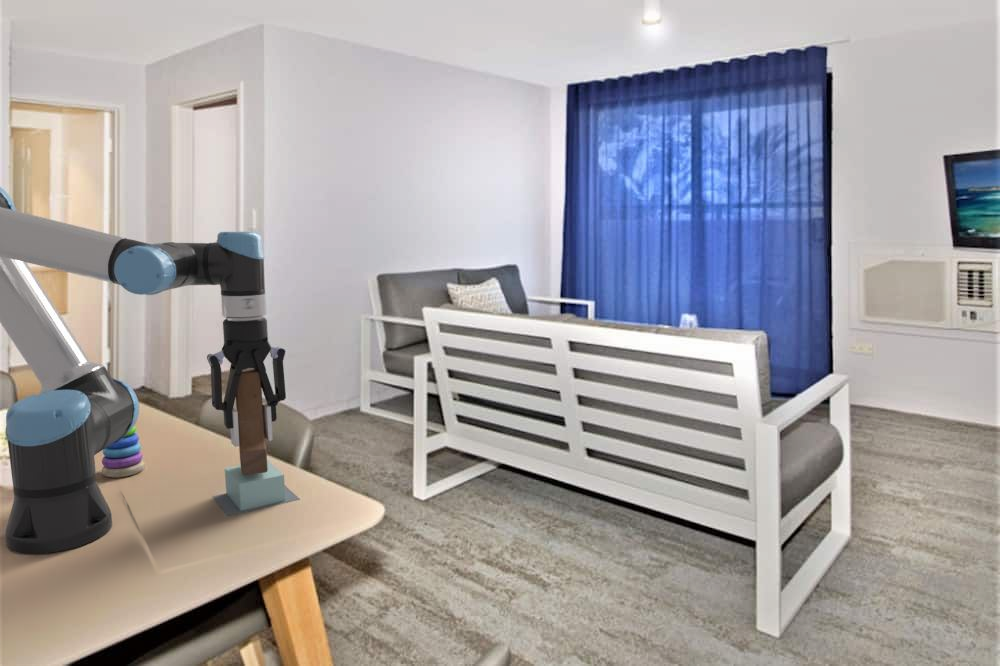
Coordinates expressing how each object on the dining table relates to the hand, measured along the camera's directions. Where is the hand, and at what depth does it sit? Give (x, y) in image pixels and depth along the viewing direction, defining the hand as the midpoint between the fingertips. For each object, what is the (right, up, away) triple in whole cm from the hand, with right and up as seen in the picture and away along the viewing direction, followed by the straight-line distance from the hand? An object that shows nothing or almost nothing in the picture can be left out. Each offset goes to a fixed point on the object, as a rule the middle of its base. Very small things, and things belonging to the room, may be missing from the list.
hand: (252, 441), depth 131 cm
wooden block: (0, -5, +1) cm, 5 cm away
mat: (0, -11, +1) cm, 12 cm away
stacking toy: (-33, -9, +17) cm, 38 cm away
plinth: (0, -11, +2) cm, 11 cm away
